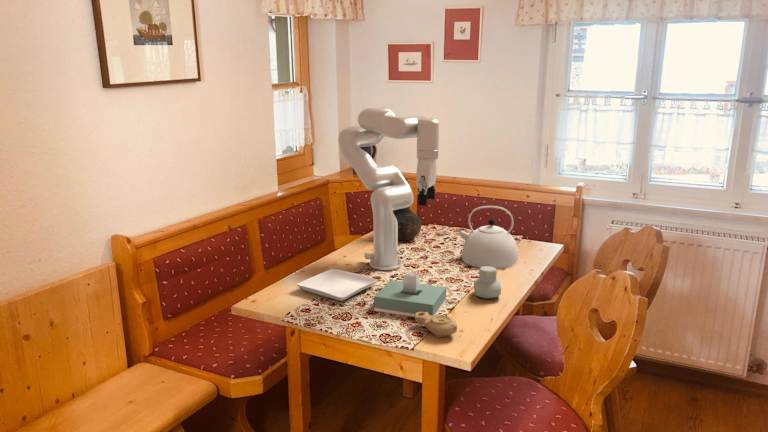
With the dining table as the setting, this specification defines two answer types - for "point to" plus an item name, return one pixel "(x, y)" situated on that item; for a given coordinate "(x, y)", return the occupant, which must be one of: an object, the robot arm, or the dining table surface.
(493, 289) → the air freshener
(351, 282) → the salad plate
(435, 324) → the oil lamp
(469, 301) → the dining table surface
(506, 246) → the kettle
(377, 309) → the well block
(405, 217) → the dark vase
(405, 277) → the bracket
